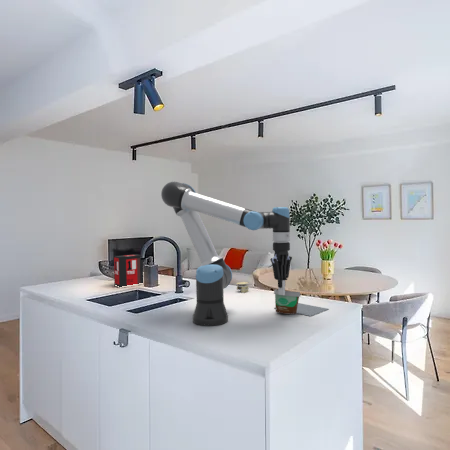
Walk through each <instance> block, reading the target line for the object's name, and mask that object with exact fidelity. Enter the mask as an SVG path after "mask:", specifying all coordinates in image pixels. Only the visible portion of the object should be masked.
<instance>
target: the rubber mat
mask: <svg viewBox="0 0 450 450" xmlns="http://www.w3.org/2000/svg"><path fill="white" fill-rule="evenodd" d="M273 310H276V307H274V309H273ZM328 310H330V309H329V308H327V307H321V306H318V305H317V306H316V305H311V304H305V303H300V302H298V306H297V312H296V314H295V315H301V316H307V317H313V316H315V314H316V315H318V314H321V313H323V311H324V312H326V311H328ZM320 312H321V313H320Z"/></svg>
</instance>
